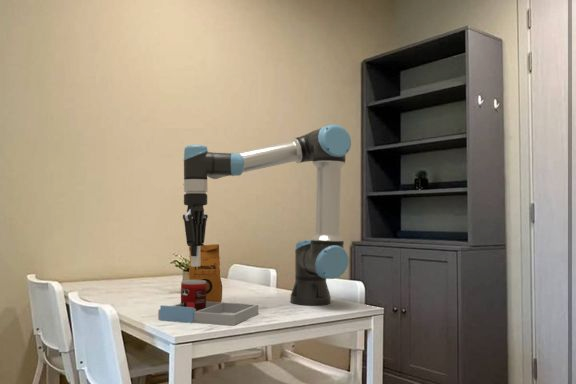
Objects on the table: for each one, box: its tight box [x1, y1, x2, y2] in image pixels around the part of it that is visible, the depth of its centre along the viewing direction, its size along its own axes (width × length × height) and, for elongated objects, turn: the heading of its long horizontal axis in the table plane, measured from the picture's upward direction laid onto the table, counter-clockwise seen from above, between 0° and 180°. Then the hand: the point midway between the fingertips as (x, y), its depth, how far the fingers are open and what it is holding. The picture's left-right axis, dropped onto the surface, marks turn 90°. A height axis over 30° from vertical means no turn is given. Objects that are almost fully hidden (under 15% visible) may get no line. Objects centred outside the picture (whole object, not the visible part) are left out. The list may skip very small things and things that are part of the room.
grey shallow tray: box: [157, 301, 259, 327], centre depth 164 cm, size 25×21×4 cm
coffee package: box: [188, 243, 223, 302], centre depth 186 cm, size 10×12×22 cm
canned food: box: [180, 279, 206, 312], centre depth 167 cm, size 8×8×11 cm
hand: (195, 266), depth 168 cm, fingers closed
